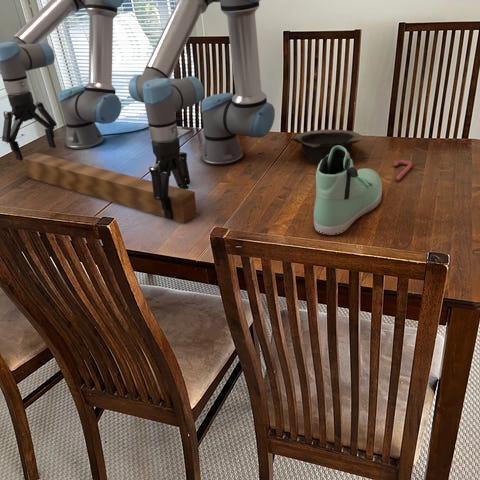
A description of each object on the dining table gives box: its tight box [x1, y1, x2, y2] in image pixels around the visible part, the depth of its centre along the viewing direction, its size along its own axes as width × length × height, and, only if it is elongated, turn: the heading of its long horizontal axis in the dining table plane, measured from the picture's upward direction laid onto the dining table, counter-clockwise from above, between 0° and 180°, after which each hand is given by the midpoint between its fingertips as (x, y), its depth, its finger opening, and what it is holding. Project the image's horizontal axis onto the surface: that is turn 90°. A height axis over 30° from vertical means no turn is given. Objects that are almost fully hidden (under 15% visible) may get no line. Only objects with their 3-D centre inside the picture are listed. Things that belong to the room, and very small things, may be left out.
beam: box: [22, 152, 198, 224], centre depth 157 cm, size 75×6×8 cm, turn 56°
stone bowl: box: [292, 129, 365, 164], centre depth 172 cm, size 25×25×9 cm
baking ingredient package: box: [177, 128, 191, 138], centre depth 205 cm, size 9×1×15 cm
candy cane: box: [393, 159, 413, 182], centre depth 157 cm, size 6×15×2 cm, turn 145°
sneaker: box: [313, 146, 383, 236], centre depth 133 cm, size 14×35×20 cm, turn 152°
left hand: (36, 153), depth 170 cm, fingers open, 13 cm apart
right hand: (176, 213), depth 143 cm, fingers closed on beam, 6 cm apart
